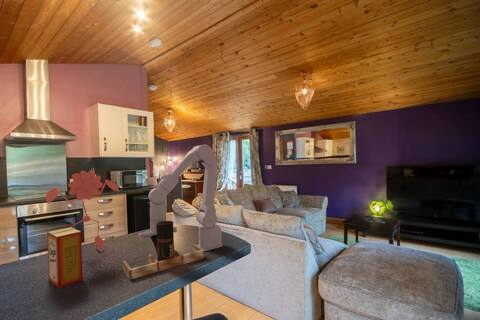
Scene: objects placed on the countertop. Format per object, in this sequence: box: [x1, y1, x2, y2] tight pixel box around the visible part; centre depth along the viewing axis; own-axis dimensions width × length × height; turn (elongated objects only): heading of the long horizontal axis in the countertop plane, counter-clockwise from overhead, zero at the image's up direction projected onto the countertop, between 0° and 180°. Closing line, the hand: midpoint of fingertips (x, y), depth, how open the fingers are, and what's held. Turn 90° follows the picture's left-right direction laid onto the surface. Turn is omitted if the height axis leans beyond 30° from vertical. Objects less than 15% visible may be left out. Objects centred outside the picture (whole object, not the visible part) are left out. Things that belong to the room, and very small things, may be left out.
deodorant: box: [156, 220, 175, 262], centre depth 91 cm, size 6×6×15 cm
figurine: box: [45, 169, 120, 263], centre depth 101 cm, size 15×26×35 cm, turn 136°
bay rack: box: [122, 243, 206, 281], centre depth 91 cm, size 27×10×3 cm, turn 126°
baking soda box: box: [46, 227, 84, 289], centre depth 80 cm, size 10×6×16 cm
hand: (158, 253), depth 97 cm, fingers closed
